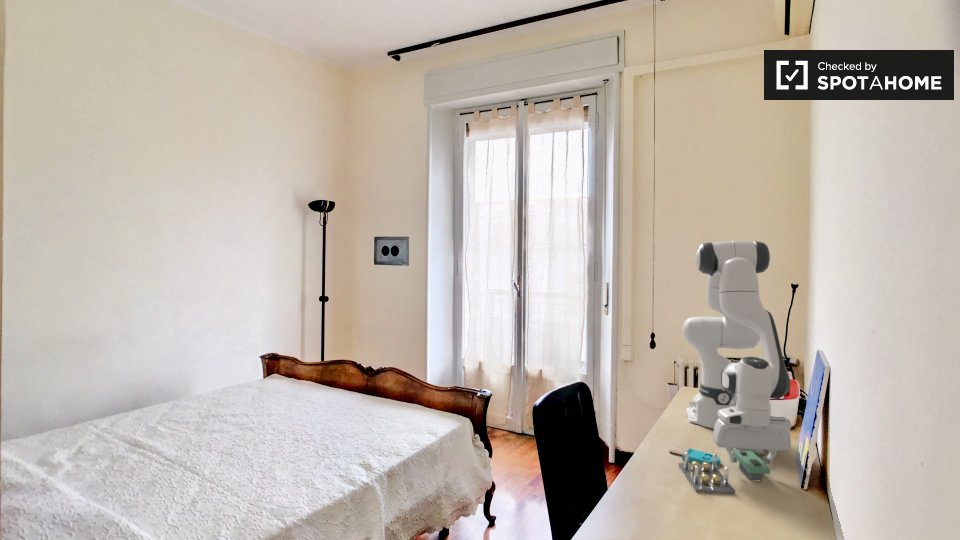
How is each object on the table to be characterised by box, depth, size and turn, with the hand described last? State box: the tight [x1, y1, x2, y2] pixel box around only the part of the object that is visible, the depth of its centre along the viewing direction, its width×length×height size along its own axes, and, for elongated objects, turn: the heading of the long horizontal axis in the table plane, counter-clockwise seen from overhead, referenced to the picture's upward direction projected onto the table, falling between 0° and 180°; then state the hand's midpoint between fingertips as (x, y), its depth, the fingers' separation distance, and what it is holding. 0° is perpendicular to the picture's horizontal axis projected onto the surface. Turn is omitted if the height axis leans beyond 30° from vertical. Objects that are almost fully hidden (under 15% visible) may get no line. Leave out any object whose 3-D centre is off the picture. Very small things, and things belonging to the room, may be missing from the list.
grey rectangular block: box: [738, 461, 763, 482], centre depth 150 cm, size 8×3×3 cm, turn 175°
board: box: [732, 449, 771, 475], centre depth 150 cm, size 12×6×2 cm, turn 175°
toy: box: [668, 448, 721, 467], centre depth 160 cm, size 7×2×15 cm
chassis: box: [678, 451, 736, 495], centre depth 146 cm, size 16×10×6 cm, turn 175°
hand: (750, 463), depth 150 cm, fingers open, 8 cm apart
